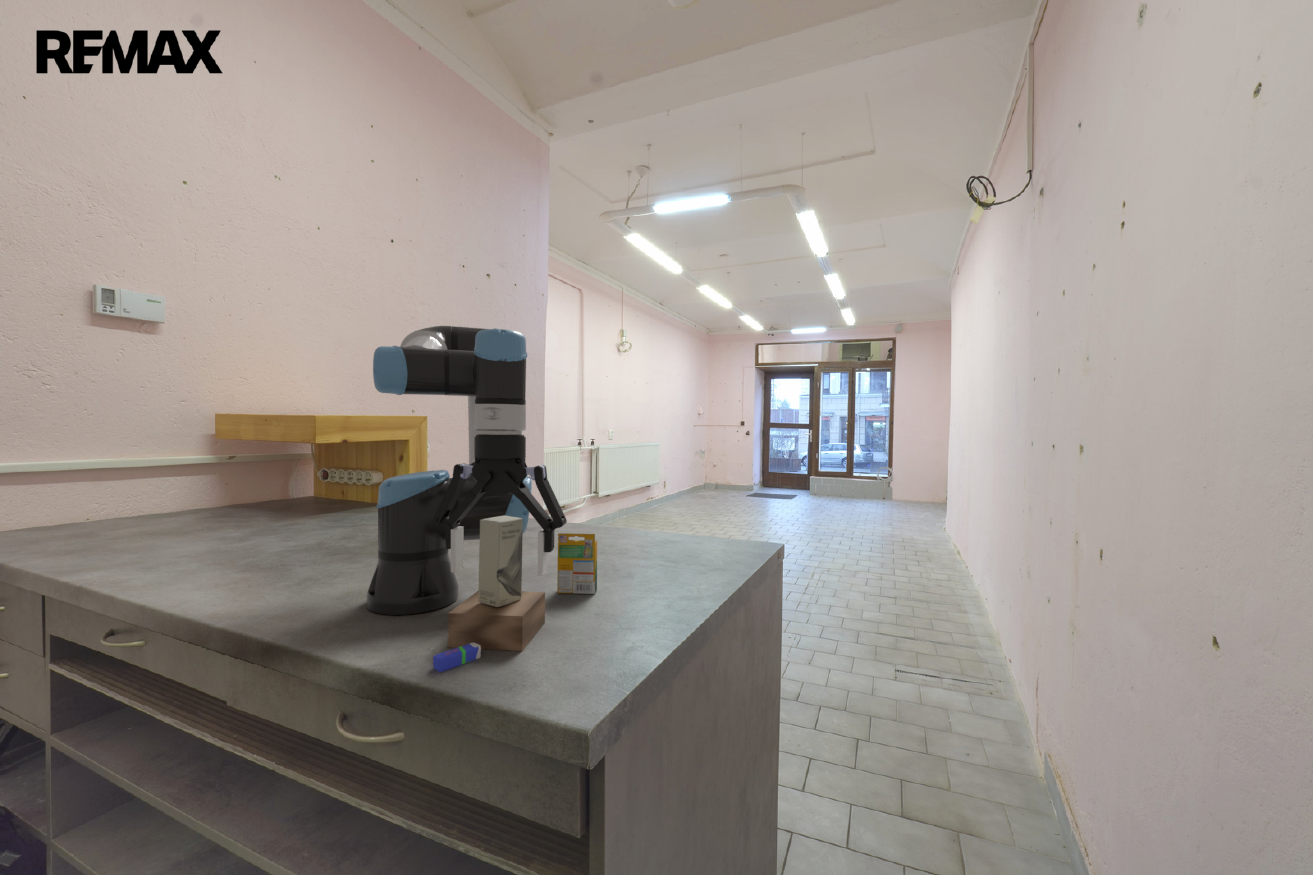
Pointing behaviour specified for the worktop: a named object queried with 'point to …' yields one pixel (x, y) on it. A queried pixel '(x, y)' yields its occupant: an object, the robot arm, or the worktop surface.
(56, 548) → the worktop surface
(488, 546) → the box
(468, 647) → the eraser
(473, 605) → the block
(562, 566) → the crayon box
